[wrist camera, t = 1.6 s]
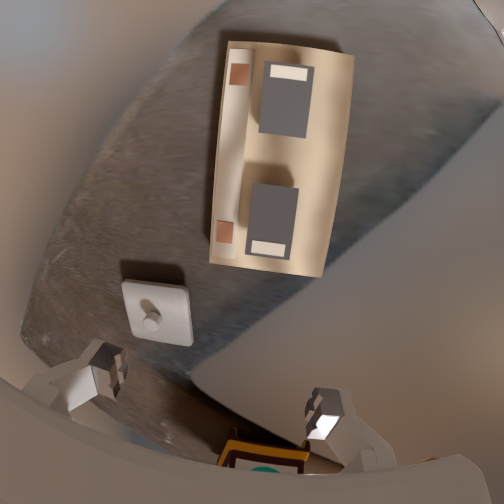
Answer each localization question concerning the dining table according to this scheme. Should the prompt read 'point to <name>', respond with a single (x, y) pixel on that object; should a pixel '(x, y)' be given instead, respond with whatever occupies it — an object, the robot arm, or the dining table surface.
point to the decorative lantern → (262, 456)
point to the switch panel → (279, 155)
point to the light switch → (158, 311)
